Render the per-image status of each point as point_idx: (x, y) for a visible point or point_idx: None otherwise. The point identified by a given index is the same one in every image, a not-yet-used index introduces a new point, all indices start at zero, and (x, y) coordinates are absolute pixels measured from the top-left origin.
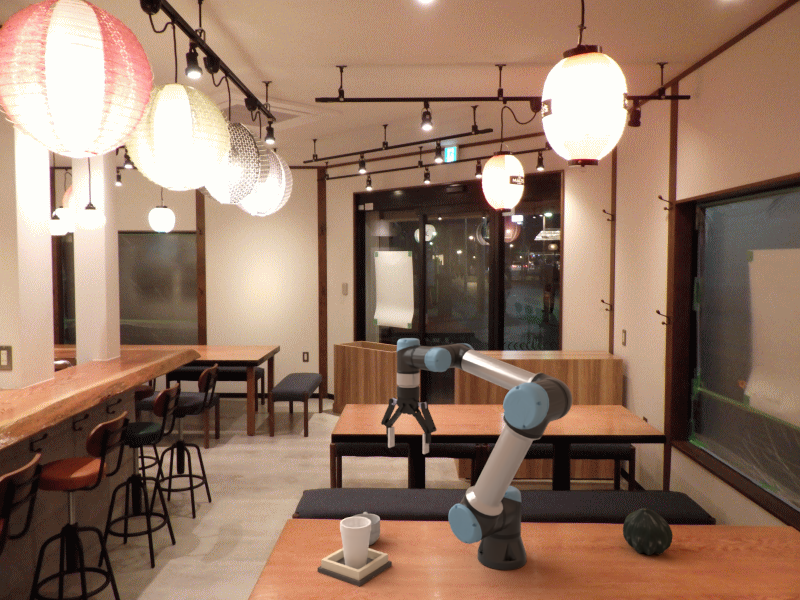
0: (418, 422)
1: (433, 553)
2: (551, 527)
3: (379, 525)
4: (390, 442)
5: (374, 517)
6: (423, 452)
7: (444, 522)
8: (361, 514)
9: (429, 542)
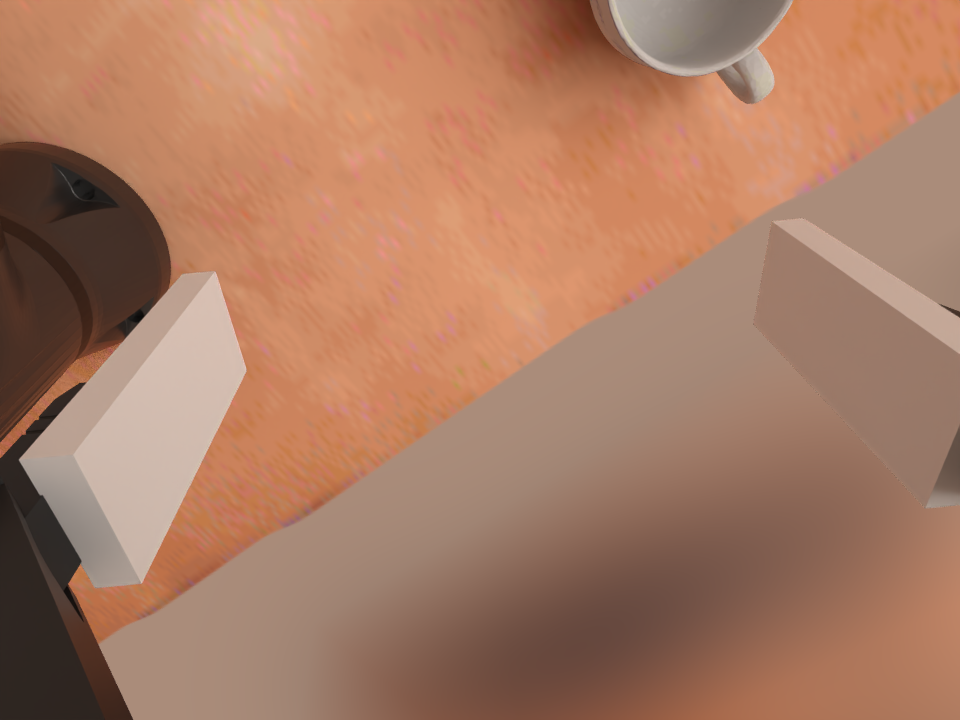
0: (80, 684)
1: (308, 101)
2: (165, 559)
3: (605, 14)
4: (805, 263)
5: (680, 65)
6: (192, 281)
7: (482, 385)
8: (765, 31)
9: (402, 189)
